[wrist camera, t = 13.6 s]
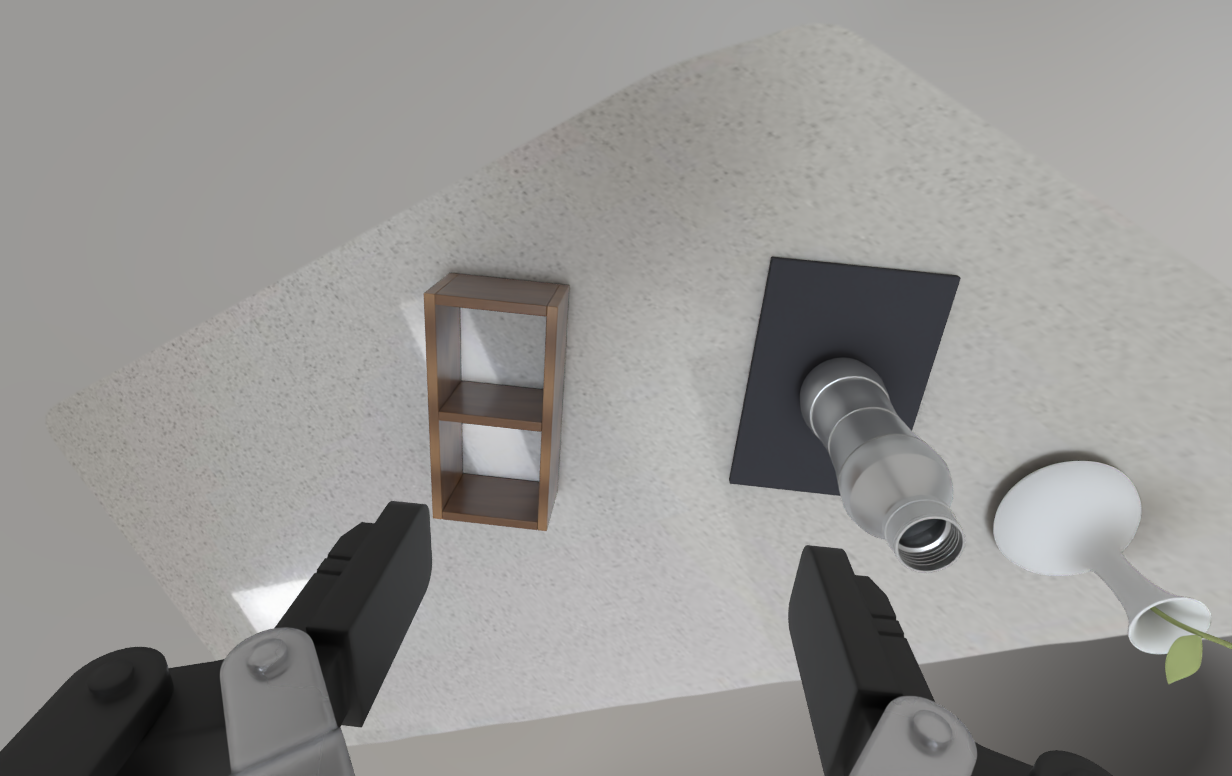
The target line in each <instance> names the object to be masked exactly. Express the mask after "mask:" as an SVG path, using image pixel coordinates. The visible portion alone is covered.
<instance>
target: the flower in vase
mask: <svg viewBox="0 0 1232 776" xmlns="http://www.w3.org/2000/svg"><path fill="white" fill-rule="evenodd" d="M1141 512H1142V508H1141V501H1140V498H1139V495H1138V493H1137V490H1136V488H1135V486H1134V485H1133V483H1132V481H1131V480H1130V479H1129V478H1128V477H1127V476H1126V475H1125V474H1124V473H1122V472H1121V471H1119V470H1118V469H1116V468H1114V467H1112V466H1109V465H1107V464H1103V463H1099V462H1092V461H1069V462H1062V463H1056V464H1053V465H1049V466H1046V467H1044V468H1041V469H1038V470H1036V471H1035V472H1033V473H1031V474H1029V475H1027V476H1026V477H1024V478H1023V479H1021V480H1020V481H1019V482H1018V483H1016V484H1015V485H1014V486H1013V487H1012V488H1011V489H1010V490H1009V491H1008V493H1007V494H1006V495H1005V496H1004V498H1003V500H1002V501H1001V503H1000V505H999V507H998V509H997V513H996V516H995V520H994V527H993V529H994V538H995V542H996V544H997V546H998V548H999V550H1000V551H1001V553H1002V554H1003V555H1004V556H1005V557H1006V558H1007V559H1008V560H1010V561H1011V562H1012V563H1014V564H1016V565H1018V566H1020V567H1021V568H1023V569H1025V570H1028V571H1030V572H1033V573H1037V574H1041V575H1048V576H1067V575H1076V574H1082V573H1086V572H1089V571H1093V572H1094V573H1095V574H1097V575H1098V576H1099V577H1100V578H1101V579H1102V580H1103V581H1104V582H1105V583H1106V584H1107V585H1108V587H1109V588H1110V589H1111V590H1112V591H1113V593H1114V594H1115V595H1116V597H1117V598H1118V600H1119V601H1120V602H1121V604H1122V606H1123V608H1124V610H1125V611H1126V614H1127V617H1128V621H1129V626H1128V636H1129V639H1130V641H1131V643H1132V644H1133V645H1134V646H1135V647H1136V648H1137V649H1139V650H1141V651H1144V652H1147V653H1152V654H1167V653H1168V654H1167V657H1166V664H1165V670H1166V677H1167V681H1168V684H1170V683H1172V682H1174V681H1177V680H1179V679H1182V678H1185V677H1188V676H1190V675H1192V674H1193V673H1195V672H1196V671H1197V670H1198V669H1199V667H1200V664H1201V659H1202V640H1201V639H1202V637H1203V638H1205V639H1208V640H1210V641H1213V642H1215V643H1218V644H1221V645H1223V646H1226V647H1228V648H1230V649H1232V643H1229V642H1227V641H1225V640H1222V639H1219V638H1217V637H1214V636H1212V635H1209V634H1206V632H1207V631H1208V629H1209V627H1210V624H1211V613H1210V611H1209V609H1208V608H1207V606H1206V605H1204V604H1203V603H1202V602H1200V601H1198V600H1195V599H1193V598H1189V597H1182V596H1177V595H1174V594H1171V593H1169V592H1167V591H1165V590H1163V589H1162V588H1160V587H1158V586H1157V585H1155V584H1154V583H1152V582H1151V581H1150V580H1148V579H1147V578H1146V577H1145V576H1143V575H1142V574H1141V573H1140V572H1139V571H1138V570H1137V569H1135V568H1134V567H1133V566H1132V565H1131V564H1130V563H1129V562H1128V561H1127V559H1126V558H1125V557H1124V555H1123V554H1122V552H1123V551H1124V550H1125V549H1126V548H1127V547H1128V545H1129V544H1130V542H1131V541H1132V539H1133V537H1134V536H1135V533H1136V531H1137V529H1138V526H1139V523H1140V519H1141Z"/></svg>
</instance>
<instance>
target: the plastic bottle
mask: <svg viewBox="0 0 1232 776" xmlns="http://www.w3.org/2000/svg"><path fill="white" fill-rule="evenodd" d="M800 407H801V413H802V416H803V418H804V420H805V422H806V424H807V425H808V426H809V428H810V429H811V430H812V432H813V433H814V434H815V435H816V436H817V437H818V438H819V439H820V440H821V441H822V443H823V444H824V446H825V448H826V449H827V451H828V452H829V455H830V457H831V460H832V463H833V466H834V468H835V471H836V476H837V481H838V486H839V491H840V496H841V499H842V502H843V505H844V508H845V510H846V512H847V514H848V515H849V517H850V518H851V519H852V520H853V521H854V522H855V523H856V524H857V525H858V526H859V527H860V528H862V529H863V530H864V531H865V532H867V533H868V534H870V535H872V536H874V537H877V538H881V539H884V540H885V541H886V542H887V544H888V546H889V547H890V548H891V550H893V552H894V554H895V556H896V558H897V559H898V560H899V561H900V563H901V564H902V565H904V566H905V567H906V568H908V569H910V570H912V571H915V572H920V573H932V572H937V571H940V570H943V569H945V568H947V567H949V566H950V565H952V564H953V563H954V562H956V561H957V559H958V558H959V557H960V556H961V554H962V552H963V550H964V547H965V541H966V540H965V534H964V532H963V529H962V527H961V526H960V524H959V523H958V522H957V520H956V517H955V515H954V513H953V511H952V510H951V509H950V506H951V503H952V500H953V484H952V479H951V474H950V471H949V469H948V466H947V464H946V463H945V461H944V460H943V459H942V457H941V456H940V455H939V454H938V453H937V452H936V451H935V450H934V449H933V448H932V447H931V446H929V445H928V444H927V443H926V442H924V441H923V440H922V439H921V438H919V437H918V436H917V435H916V434H915V433H913V432H912V431H911V430H910V429H909V428H908V426H907V425H906V424H905V423H904V422H903V421H902V420H901V419H900V417H899V416H898V415H897V413H896V412H895V410H894V408H893V406H892V404H891V402H890V399H889V395H888V393H887V390H886V388H885V386H884V383H883V381H882V379H881V378H880V376H879V375H878V374H877V373H876V372H875V371H874V370H873V369H872V368H870V367H868V366H867V365H865V364H864V363H862V362H860V361H858V360H855V359H852V358H843V357H842V358H834V359H830V360H827V361H825V362H823V363H821V364H819V365H818V366H816V367H815V368H813V369H812V371H811V372H810V373H809V374H808V375H807V376H806V378H805V380H804V381H803V384H802V386H801V391H800Z"/></svg>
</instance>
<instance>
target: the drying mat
mask: <svg viewBox="0 0 1232 776" xmlns="http://www.w3.org/2000/svg"><path fill="white" fill-rule="evenodd" d="M959 281H960V277H959V276H956V275H946V274H936V273H926V272H916V271H906V270H896V269H886V268H877V267H867V266H857V265H847V264H837V263H827V262H817V261H807V260H798V259H788V258H778V257H771V262H770V268H769V273H768V278H767V283H766V289H765V294H764V299H763V304H762V310H761V315H760V320H759V326H758V331H757V336H756V341H755V347H754V352H753V357H752V362H751V368H750V373H749V378H748V383H747V389H746V394H745V399H744V405H743V410H742V415H741V420H740V426H739V431H738V436H737V441H736V447H735V452H734V457H733V462H732V468H731V473H730V478H729V481H730V484H739V485H748V486H757V487H766V488H775V489H784V490H793V491H802V492H811V493H820V494H829V495H838V496H840V491H839V486H838V481H837V476H836V471H835V468H834V466H833V463H832V460H831V457H830V455H829V452H828V451H827V449H826V448H825V446H824V444H823V443H822V441H821V440H820V439H819V438H818V437H817V436H816V435H815V434H814V433H813V432H812V430H811V429H810V428H809V426H808V425H807V424H806V422H805V420H804V418H803V416H802V413H801V407H800V391H801V386H802V384H803V381H804V380H805V378H806V376H807V375H808V374H809V373H810V372H811V371H812V369H813V368H815V367H816V366H818V365H819V364H821V363H823V362H825V361H827V360H830V359H834V358H842V357H843V358H852V359H855V360H858V361H860V362H862V363H864V364H865V365H867V366H868V367H870V368H872V369H873V370H874V371H875V372H876V373H877V374H878V375H879V376H880V378H881V379H882V381H883V383H884V386H885V388H886V390H887V393H888V395H889V399H890V402H891V404H892V406H893V408H894V410H895V412H896V413H897V415H898V416H899V417H900V419H901V420H902V421H903V422H904V423H905V424H906V425H907V426H908V428H909V429H910V430H911V431H912V429H913V426H914V422H915V419H916V416H917V413H918V410H919V407H920V404H921V400H922V397H923V394H924V391H925V388H926V385H927V382H928V379H929V375H930V372H931V369H932V366H933V363H934V360H935V357H936V353H937V350H938V347H939V344H940V341H941V338H942V335H943V332H944V328H945V325H946V322H947V319H948V316H949V313H950V310H951V306H952V303H953V300H954V297H955V294H956V291H957V288H958V285H959Z"/></svg>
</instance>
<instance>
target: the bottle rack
mask: <svg viewBox="0 0 1232 776" xmlns="http://www.w3.org/2000/svg"><path fill="white" fill-rule="evenodd" d="M568 303H569V285H562V284H560V285H559V284H553V283H543V282H534V281H524V280H514V279H504V278H495V277H485V276H475V275H466V274H457V273H449V274H448V275H446V276H445V277H444V278H443V279H441V280H440V281H439V282H437V283H436V284H435V285H434V286H432V287H431V288H430V289H429V290H427V291H426V292H425V293H424V312H425V336H426V361H427V385H428V410H429V434H430V459H431V483H432V508H433V518H435V519H445V520H454V521H462V522H471V523H480V524H489V525H497V526H506V527H515V528H524V529H533V530H537V529H538V530H542V531H547V528H548V525H549V521H550V517H551V514H552V510H553V506H554V503H555V499H556V495H557V492H558V477H559V460H560V442H561V425H562V407H563V390H564V373H565V355H566V338H567V320H568ZM460 307H461V308H471V309H480V310H490V311H499V312H509V313H519V314H528V315H538V316H547V318H546V342H545V365H544V388H543V390H542V389H532V388H523V387H514V386H504V385H495V384H486V383H477V382H467V381H461V343H460ZM462 423H467V424H476V425H485V426H494V427H503V428H512V429H521V430H531V431H540V432H541V431H542V435H541V458H540V481H539V482H534V481H525V480H516V479H507V478H498V477H489V476H480V475H471V474H463V464H462Z"/></svg>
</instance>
